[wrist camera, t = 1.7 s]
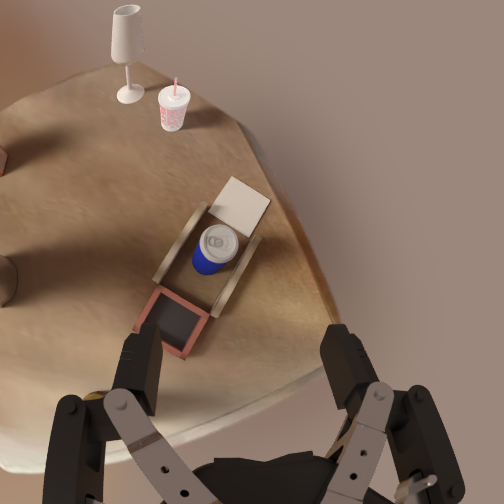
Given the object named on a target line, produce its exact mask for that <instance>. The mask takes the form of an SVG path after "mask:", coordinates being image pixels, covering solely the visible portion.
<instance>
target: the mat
mask: <svg viewBox="0 0 504 504" xmlns="http://www.w3.org/2000/svg"><path fill="white" fill-rule="evenodd" d="M269 202H270V200H269V199H268V198H266V197H264V196H263V195H261V194H260V193H258V192H257V191H255V190H254V189H252V188H250V187H249V186H247V185H246V184H244V183H242V182H241V181H239V180H238V179H236V178H234V177H233V176H232V177H231V178H230V180H229V181H228V183H227V184H226V186H225V187H224V189H223V190H222V192H221V193H220V195H219V196H218V197H217V199H216V200H215V202H214V203H213V205H212V206H211V208H210V209H209V211H208V213H210V214H211V215H213V216H215V217H216V218H218V219H220V220H221V221H223V222H224V223H226V224H228V225H229V226H231V227H232V228H234V229H236V230H237V231H239V232H240V233H242V234H244V235H245V236H247V237H248V238H249V237H250V235H251V233H252V231H253V230H254V228H255V226H256V225H257V223H258V221H259V219H260V218H261V216H262V214H263V212H264V211H265V209H266V207H267V205H268V204H269Z"/></svg>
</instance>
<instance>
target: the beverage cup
mask: <svg viewBox="0 0 504 504" xmlns="http://www.w3.org/2000/svg"><path fill="white" fill-rule="evenodd" d="M177 79H178V78H177V77H175V82H174V85H171V86H168V87H165V88H164V89H163V90H161V92H160V93H159V98H158V100H159V103H160V111H161V123H162V127H163V128H164V129H165V130H167V131H176V130H179V129H180V128H181V127H182V125H183V121H184V116H185V112H186V108H187V104H188V103H189V101H190V92H189V91H188V89H186V88H184V87H182V86H178V85H177Z"/></svg>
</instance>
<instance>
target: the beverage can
mask: <svg viewBox="0 0 504 504" xmlns="http://www.w3.org/2000/svg"><path fill="white" fill-rule="evenodd" d="M238 247H239V243H238V238H237V236H236V234H235V232H234V231H233V230H232V229H231V228H230V227H228V226H225V225H213V226H210V227H209V228H207V229H206V230H205V231H204V232H203V234H202V235H201V238H200V240H199V242H198V245H197V247H196V250H195V252H194V255H193V258H192V263H193V266H194V268H195V269H196V271H197V272H199V273H200V274H203V275H211V274H214V273H215V272H217V271H218V270H219V269H220V268H221V267H223V266H224V265H225V264H226V263H228V262H229V261H230V260H231V259H232V258H233V257H234V256H235V255H236V253H237V251H238Z"/></svg>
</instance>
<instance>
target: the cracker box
mask: <svg viewBox="0 0 504 504" xmlns="http://www.w3.org/2000/svg"><path fill="white" fill-rule="evenodd" d="M7 157H8V154H7V153H6V152H5V151H4V149H3V148H2V147H1V146H0V176H3V172H4V168H5V164H6V160H7Z"/></svg>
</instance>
